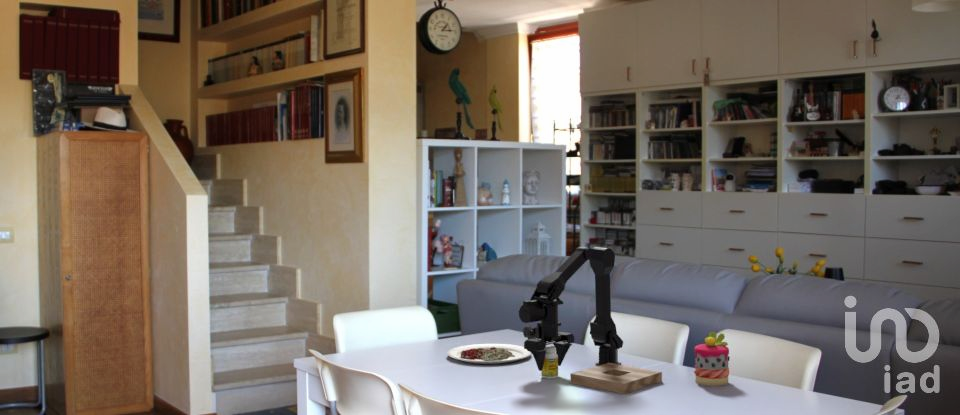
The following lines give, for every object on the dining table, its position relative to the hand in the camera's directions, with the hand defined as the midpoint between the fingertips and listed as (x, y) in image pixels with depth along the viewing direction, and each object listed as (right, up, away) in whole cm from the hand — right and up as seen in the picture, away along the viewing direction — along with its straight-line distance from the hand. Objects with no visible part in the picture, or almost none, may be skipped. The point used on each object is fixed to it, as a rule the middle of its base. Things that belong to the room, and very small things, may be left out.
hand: (549, 368), depth 277 cm
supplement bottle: (0, -3, 0) cm, 3 cm away
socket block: (+20, -3, -8) cm, 22 cm away
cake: (+49, -3, -10) cm, 50 cm away
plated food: (-19, -2, +32) cm, 38 cm away
